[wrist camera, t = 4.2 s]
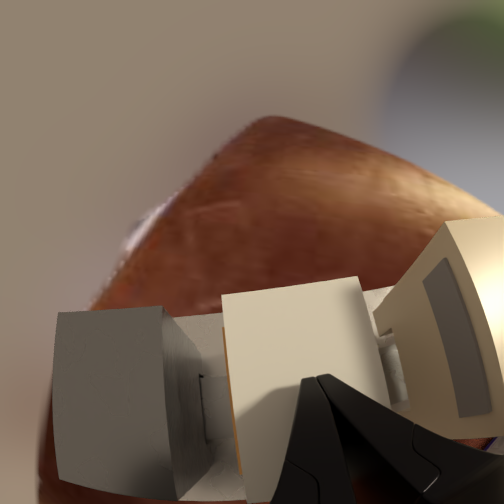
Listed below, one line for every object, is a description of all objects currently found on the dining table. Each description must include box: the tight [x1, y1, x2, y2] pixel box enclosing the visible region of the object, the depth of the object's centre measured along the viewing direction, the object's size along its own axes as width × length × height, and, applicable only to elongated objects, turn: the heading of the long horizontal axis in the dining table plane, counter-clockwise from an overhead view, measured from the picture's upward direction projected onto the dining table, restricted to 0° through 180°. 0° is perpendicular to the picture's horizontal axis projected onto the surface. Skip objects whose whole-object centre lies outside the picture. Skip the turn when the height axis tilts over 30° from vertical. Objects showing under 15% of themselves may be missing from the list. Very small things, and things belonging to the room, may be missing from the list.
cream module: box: [222, 276, 391, 503], centre depth 11 cm, size 7×5×8 cm
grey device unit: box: [52, 286, 410, 501], centre depth 12 cm, size 12×20×9 cm, turn 97°
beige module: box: [372, 216, 504, 439], centre depth 9 cm, size 7×5×8 cm
